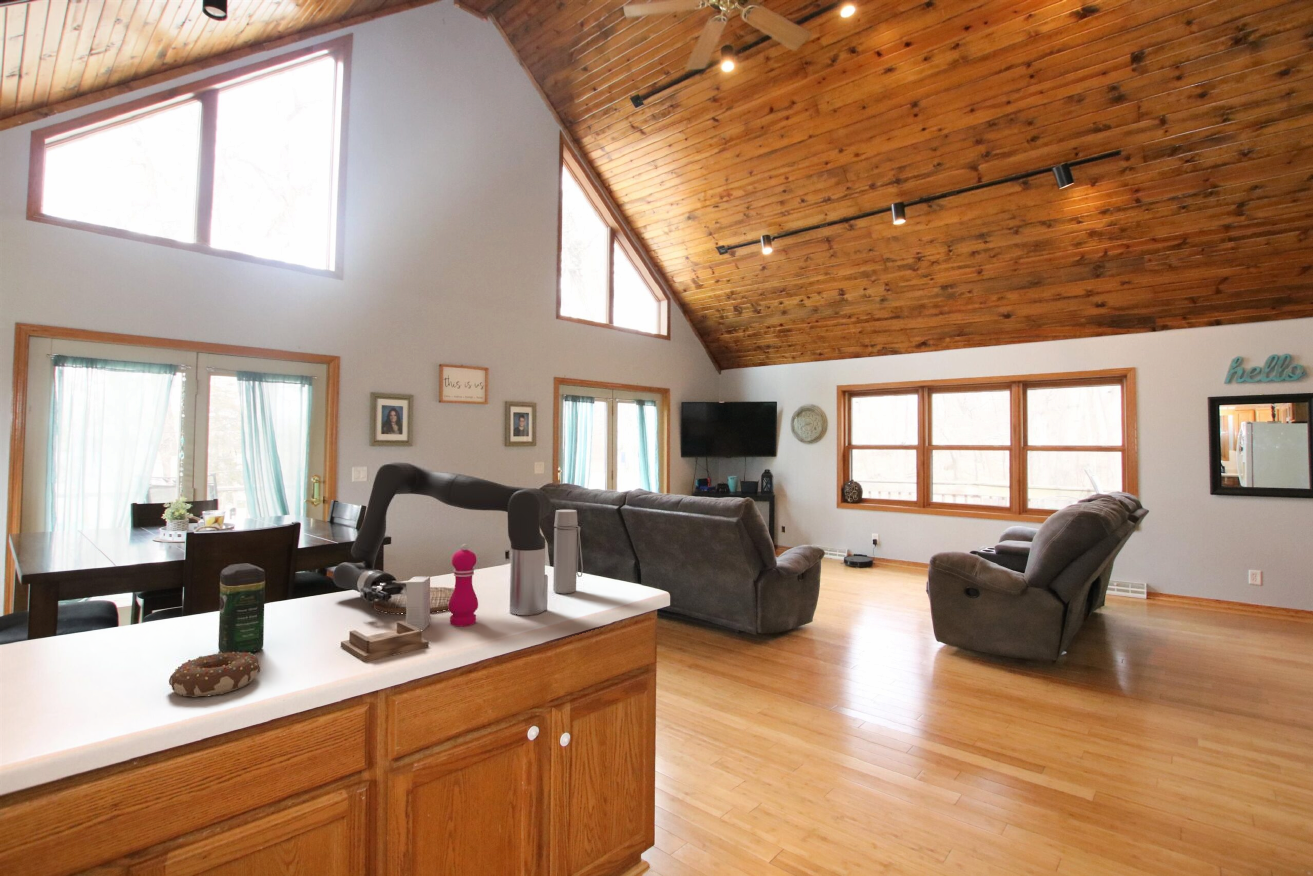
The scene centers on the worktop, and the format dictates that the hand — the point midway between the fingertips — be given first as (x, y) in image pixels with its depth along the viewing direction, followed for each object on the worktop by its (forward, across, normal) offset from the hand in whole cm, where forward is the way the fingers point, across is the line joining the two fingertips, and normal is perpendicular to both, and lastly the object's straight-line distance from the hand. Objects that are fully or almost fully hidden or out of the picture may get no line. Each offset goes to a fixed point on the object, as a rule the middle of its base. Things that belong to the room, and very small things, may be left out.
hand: (403, 595), depth 161 cm
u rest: (+17, -12, +6) cm, 22 cm away
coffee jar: (-2, -35, +7) cm, 36 cm away
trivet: (-14, +12, +7) cm, 19 cm away
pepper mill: (+12, +10, +7) cm, 17 cm away
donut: (+17, -44, +7) cm, 47 cm away
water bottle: (+4, +50, +7) cm, 51 cm away
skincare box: (+8, 0, +7) cm, 11 cm away
